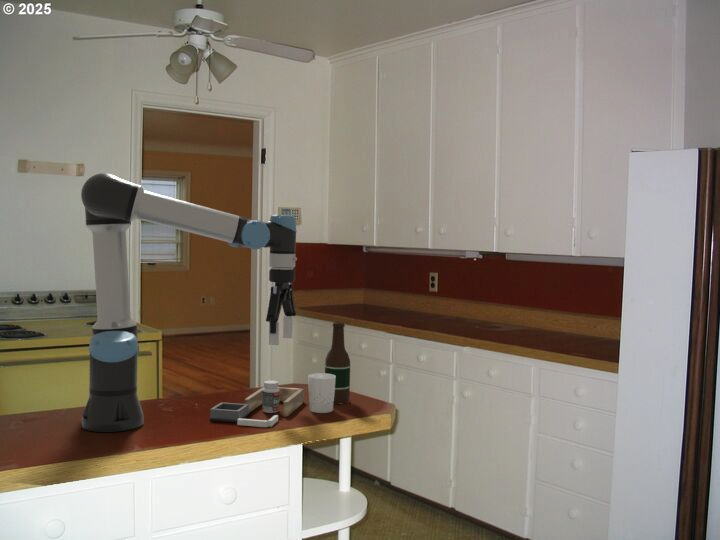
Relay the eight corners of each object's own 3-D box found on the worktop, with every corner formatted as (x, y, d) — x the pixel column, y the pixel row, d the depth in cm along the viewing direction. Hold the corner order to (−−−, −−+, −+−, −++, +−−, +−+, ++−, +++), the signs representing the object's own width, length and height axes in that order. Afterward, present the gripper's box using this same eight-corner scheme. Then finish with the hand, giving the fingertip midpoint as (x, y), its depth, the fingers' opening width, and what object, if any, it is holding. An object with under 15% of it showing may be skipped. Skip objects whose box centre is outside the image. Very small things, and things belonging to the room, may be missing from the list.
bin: (210, 420, 195) (210, 409, 194) (220, 413, 202) (221, 402, 202) (238, 422, 193) (238, 411, 193) (248, 415, 201) (248, 404, 201)
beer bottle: (321, 403, 217) (323, 323, 216) (326, 397, 225) (328, 320, 223) (346, 405, 216) (349, 324, 214) (351, 399, 223) (353, 321, 222)
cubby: (244, 413, 203) (244, 399, 202) (263, 399, 220) (264, 386, 220) (287, 416, 201) (287, 402, 200) (303, 402, 218) (303, 388, 218)
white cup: (340, 409, 210) (341, 375, 209) (324, 415, 203) (325, 379, 203) (318, 405, 214) (318, 372, 214) (301, 410, 208) (302, 376, 207)
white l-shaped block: (237, 425, 191) (237, 419, 191) (246, 418, 197) (246, 412, 197) (270, 427, 189) (270, 421, 189) (278, 420, 196) (278, 415, 196)
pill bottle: (276, 413, 203) (276, 384, 203) (259, 412, 204) (260, 383, 204) (281, 409, 208) (281, 380, 208) (265, 408, 209) (266, 379, 208)
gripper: (282, 271, 198) (280, 348, 199) (306, 266, 222) (304, 336, 223) (255, 270, 199) (254, 347, 200) (282, 266, 224) (281, 334, 225)
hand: (280, 341), depth 212 cm, fingers open, 13 cm apart
